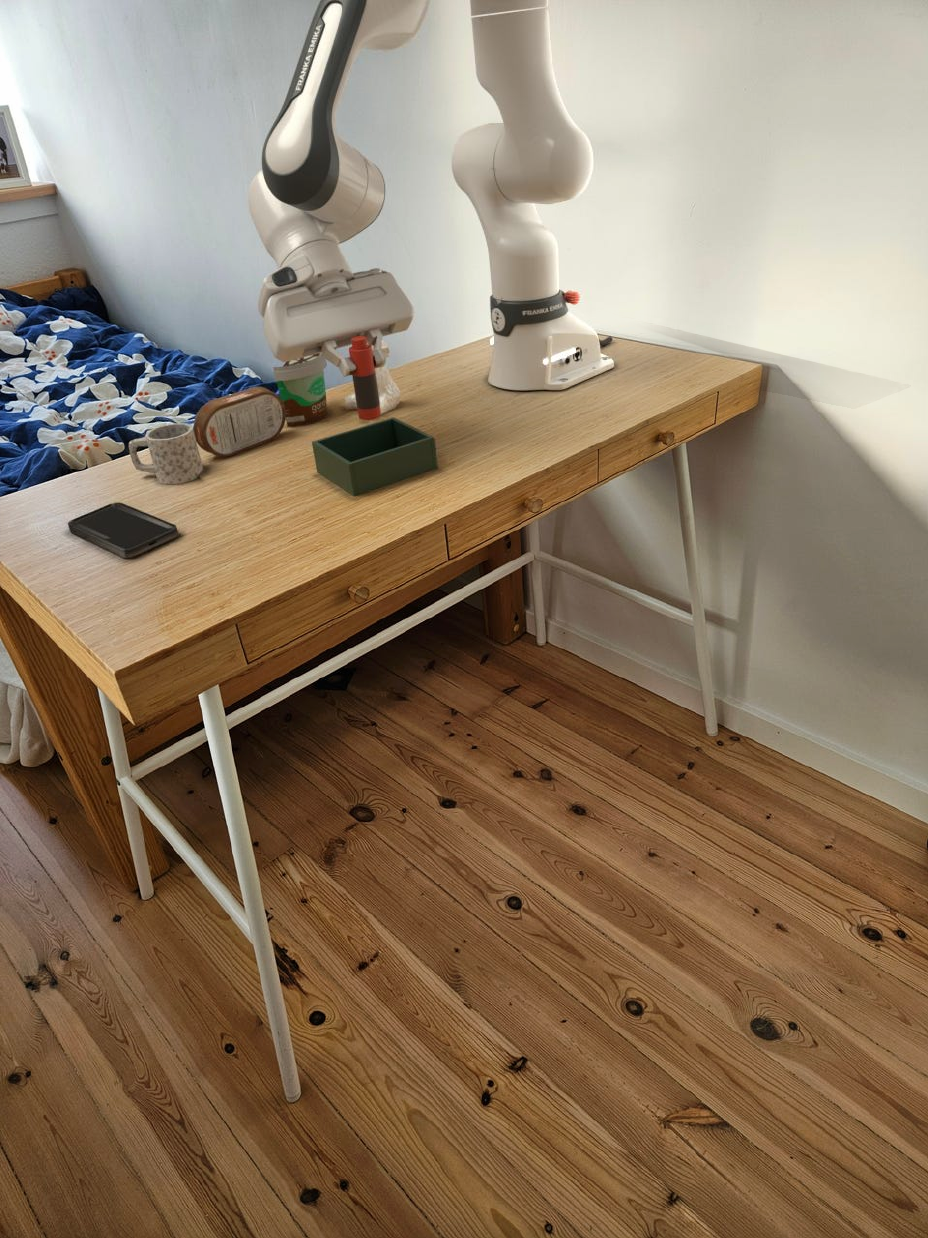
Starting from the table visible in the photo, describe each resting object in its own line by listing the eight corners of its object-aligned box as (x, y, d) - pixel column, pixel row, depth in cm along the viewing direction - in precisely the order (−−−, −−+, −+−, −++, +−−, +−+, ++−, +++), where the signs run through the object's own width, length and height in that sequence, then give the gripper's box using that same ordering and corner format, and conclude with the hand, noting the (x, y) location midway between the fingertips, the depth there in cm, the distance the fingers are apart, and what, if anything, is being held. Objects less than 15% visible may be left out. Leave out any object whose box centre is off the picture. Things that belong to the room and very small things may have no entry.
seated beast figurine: (342, 408, 150) (330, 336, 143) (388, 396, 153) (379, 325, 147) (365, 423, 143) (354, 348, 136) (413, 410, 146) (404, 336, 140)
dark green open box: (397, 449, 132) (393, 416, 129) (438, 471, 124) (434, 437, 121) (317, 475, 126) (311, 441, 124) (354, 499, 118) (348, 464, 116)
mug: (209, 464, 133) (198, 421, 130) (195, 483, 128) (183, 438, 124) (145, 468, 134) (133, 425, 131) (128, 486, 129) (115, 442, 125)
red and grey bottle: (374, 410, 123) (363, 333, 117) (385, 416, 120) (375, 337, 115) (354, 416, 121) (342, 338, 116) (365, 422, 119) (353, 342, 113)
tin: (282, 430, 143) (271, 378, 139) (293, 434, 141) (283, 382, 137) (199, 461, 135) (185, 407, 130) (210, 466, 133) (196, 411, 128)
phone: (117, 500, 121) (179, 526, 113) (119, 508, 122) (182, 534, 113) (63, 523, 117) (124, 552, 108) (66, 531, 117) (127, 560, 108)
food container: (320, 429, 142) (309, 367, 137) (284, 429, 143) (271, 368, 138) (344, 403, 152) (335, 344, 147) (310, 403, 153) (300, 344, 148)
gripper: (381, 280, 126) (425, 363, 124) (246, 311, 117) (291, 401, 115) (393, 250, 120) (439, 337, 118) (252, 281, 112) (299, 374, 110)
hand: (365, 369), depth 117 cm, fingers closed on red and grey bottle, 3 cm apart
